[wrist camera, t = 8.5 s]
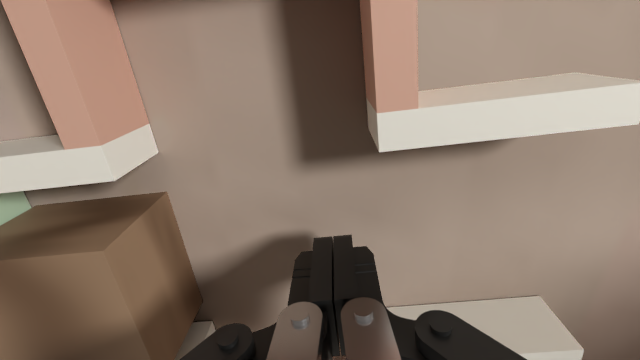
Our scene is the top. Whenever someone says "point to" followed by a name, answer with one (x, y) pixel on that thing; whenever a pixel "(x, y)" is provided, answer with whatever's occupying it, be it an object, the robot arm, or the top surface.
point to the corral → (383, 123)
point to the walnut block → (95, 281)
